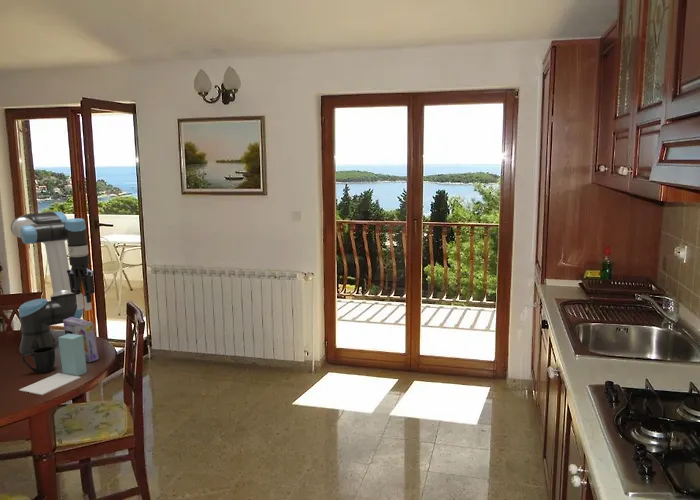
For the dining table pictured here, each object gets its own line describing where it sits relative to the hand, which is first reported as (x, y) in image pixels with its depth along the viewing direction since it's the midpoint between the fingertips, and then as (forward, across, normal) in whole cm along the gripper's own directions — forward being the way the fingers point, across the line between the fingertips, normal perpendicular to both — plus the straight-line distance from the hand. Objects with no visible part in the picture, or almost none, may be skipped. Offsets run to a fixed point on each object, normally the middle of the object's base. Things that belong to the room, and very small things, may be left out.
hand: (84, 309), depth 235 cm
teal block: (+25, +2, -10) cm, 27 cm away
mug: (+25, -13, -14) cm, 31 cm away
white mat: (+25, +2, -22) cm, 33 cm away
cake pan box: (+25, -10, +4) cm, 27 cm away
